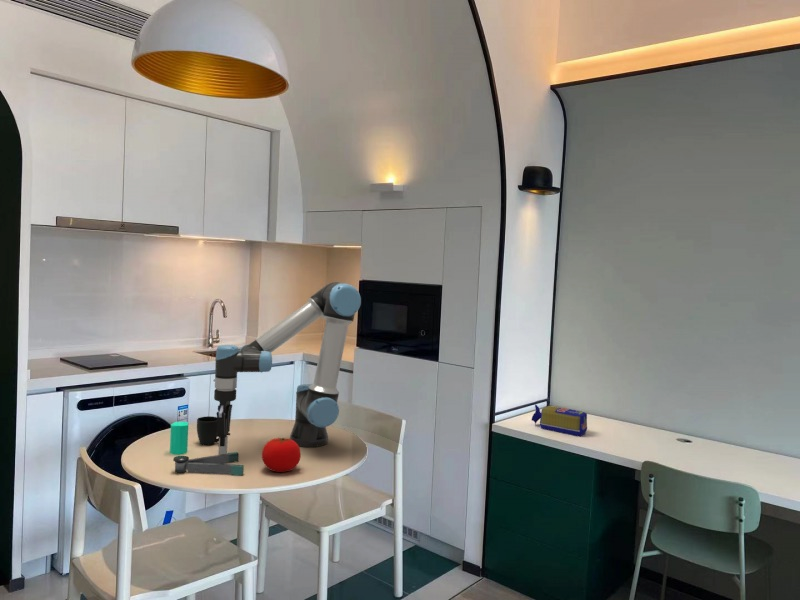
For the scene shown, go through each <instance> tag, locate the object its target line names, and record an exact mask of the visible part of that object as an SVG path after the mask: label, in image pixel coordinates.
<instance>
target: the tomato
mask: <svg viewBox="0 0 800 600" xmlns="http://www.w3.org/2000/svg"><path fill="white" fill-rule="evenodd" d="M301 455H302V453H301V448H300V446H298V444H297V443H296V442H295V441H293V440H291V439H290V438H285V437H278V438H272V439H271V440H269V441H267V443H266V444H265V445H264V446H263V447H262V451H261V459H262V463H263V464H264V466H265V467H266V468H267V469H269V470H270V471H273V472H277V473H284V472H288V471H289V472H290V471H292V470H294V469H296V467H297V466H298V464H299V463H300V461H301V457H302V456H301Z"/></svg>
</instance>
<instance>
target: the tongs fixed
mask: <svg viewBox="0 0 800 600" xmlns="http://www.w3.org/2000/svg"><path fill="white" fill-rule="evenodd" d="M189 459H190V457H189V456H188V455H176V456H174V457H173V462H175V463H174V473H175V474H180V475H181V474H186V472H187V473H190V474H209V475H211V474H214V475H215V474H216V475H231V476H243V475H244V470H245V468H244V467H245V465H244V464H234V463H233V464H232V463H226V464H212V463H188V470H187V461H188V460H189Z"/></svg>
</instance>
